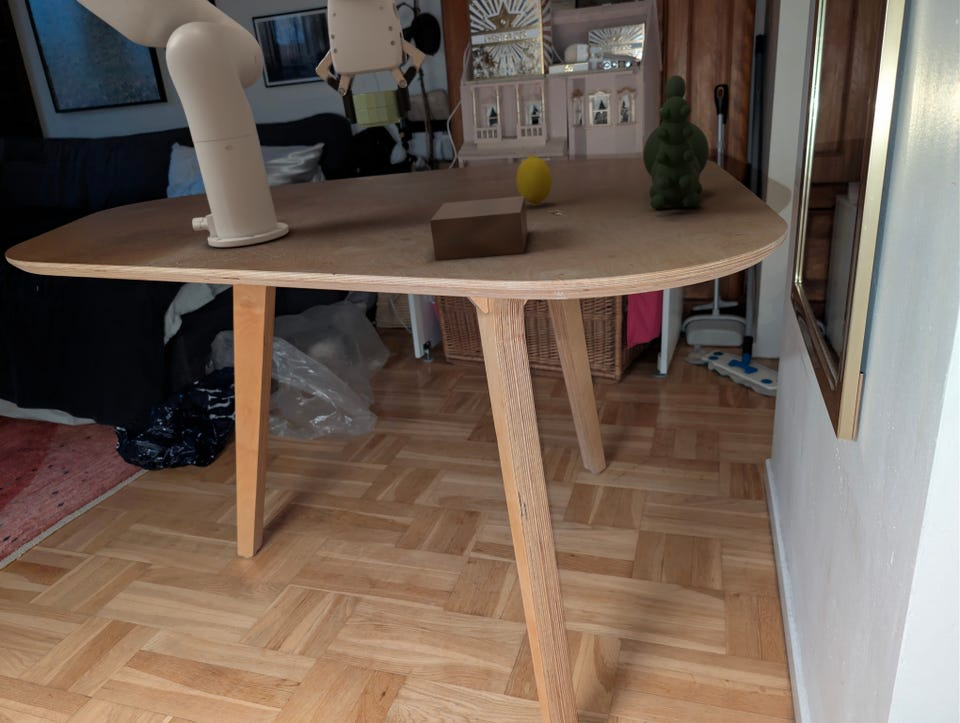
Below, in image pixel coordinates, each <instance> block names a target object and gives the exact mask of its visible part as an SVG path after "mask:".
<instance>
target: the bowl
mask: <svg viewBox="0 0 960 723" xmlns="http://www.w3.org/2000/svg"><path fill="white" fill-rule="evenodd" d="M397 89H398V88H395V89H387V90H381V91H373V92H366V93H358V94H354V95H352V101H353V107H354V112H355V118H356V125H359V127H360V128H362V129H364V128H373V127H374V128H375V127H381V126H388V125H394V124H398V123H401V119H403V118H402V117H400V113H399V107H398V100H397V94H396V90H397Z"/></svg>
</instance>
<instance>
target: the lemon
mask: <svg viewBox="0 0 960 723" xmlns="http://www.w3.org/2000/svg"><path fill="white" fill-rule="evenodd" d="M515 181H516V189H517V192H518V194H519V195H520V196H525V202H528V203H530V204H531V205H532V207H538V206H539V205H540V204H541V202H542V201H544V200H546V198H547V197H548V196H549V194H550V192H551V190H552V173H551V169H550V168H549V165H548V164H547V163H546V161H545V160H544V159H542V158H541V157H537V156H536V155H535V154H530V155H529V156H528V157H527V158H525V159H524V160H522V161H521V163H520V164H519V166H518V168H517V172H516V180H515Z"/></svg>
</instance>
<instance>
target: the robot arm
mask: <svg viewBox="0 0 960 723" xmlns="http://www.w3.org/2000/svg"><path fill="white" fill-rule="evenodd" d="M76 1H77V3H79V4H81V5H82V6H83V7H84V8H86V9H87V10H89V12H91V13H92V14H94V15H95V16H96V17H98V18H99V19H101V20H102V21H103V22H104V23H107V24H108V25H109V26H111V27H112V28H113V29H115V30H116V31H117V32H119V34H121V35H123V36H124V37H125V38H127V39H128V40H129V41H131V42H133V43H135V44H137V45H140V46H144V47H149V48H165V61H166V66H167V70H168V74H169V77H170V78H171V81H172V83H173V86H174V88H175V90H176V92H177V95H178V97H179V100H180V102H181V106H182V108H183V111H184V114H185V117H186V120H187V125H188V128H189V132H190V136H191V139H192V140H191V141H192V143H193V145H194V150H195V155H196V159H197V162H198V166H199V170H200V174H201V178H202V182H203V186H204V189H205V194H206V198H207V202H208V205H209V209H210V214H207V215H205V216H201V217H193V218H192V221H191V224H192V229H193V231H194V232H199V231H200V232H201V231H205V230H206V231H208V232H209V235H208V237H207V239H206V240H207V243H208V245H209V246H210V247H212V248H213V247H214V248H236V247H243V246H250V245H251V246H252V245H256V244H260V243H265V242H268V241H269V242H270V241H273V240H275V239H278V238H281V237H283V236H285V235H287V234H288V233H289V231H290V229H289V225H288V224H287V223H285V222H278V220H277V216H276V215H277V214H276V212H275V211H276V210H275V205H274V202H273V197H272V193H271V188H270V184H269V179H268V175H267V170H266V166H265V161H264V156H263V151H262V147H261V144H260V138H259V134H258V130H257V126H256V121H255V118H254V114H253V111H252V107H251V105H250V103H249V102H250V101H249V99H248V98H247V95H246V93H245V91H244V90H246V89H248V88H250V87H252V86H253V85H255V84H256V83H257V82H258V81H259V79H260V78H261V76H262V74H263V72H264V66H265V62H264V61H265V60H264V55H263V54H264V53H263V50H262V48H261V46H260V44H259V43H258V42H259V41H258V40H256V38H255V37H254V36H253V35H252V34H251V32H250V31H248V30H247V29H246V28H245V27H244V26H242V25H241V24H240V23H238V22H237V21H236V20H234V19H232V18H231V17H230V16H229V15H227V14H226V13H225V12H223V11H222V10H221V9H219V8H218V7H217V6H215V5H214V4H213V3H211V2H210V1H208V0H76ZM398 11H399V10H398V8H397V4H396V1H395V0H327V26H328V37H329V50H328V51H327V53H326V55H325V56H324V57H323V59H322V60H321V61H320V62H319V64H318V66H316V68H315V73H316V74H317V75H318V76H319V77H320V78H321V79H322V80H323V81H324V82H326V84H327V85H328V86H329V87H330V88H332V89H333V90H334V91H335V92H337V93H338V95H339V96H341V99H342V104H343V109H344V115H345V118H346V119H347V120H348V121H349V124H350V125H355V124H356V125H357V123H356V118H355V112H354V107H353V101H352V95H355V94H354V93H353V90H352V89H353V86H354V82H355V79H356V75H365V74H371V73H380V72H386V71H389V73H390V74H391V76H392V78H394V81H395V82H396V84H397V85H396V86H397V88H396V89H397V90H396V89H395V90H396V94H397V100H398V107H399V113H400V117H402V119H404V118H405V119H406V118H408V117H409V112H411V111H412V103H411V97H410V92H409V91H410V90H409V87H410V85H411V83H412V82H413V80H414V79H415V78H416V76H417V75H418V73H419V71H420V69H421V67H422V66H423V64H424V62H425V61H426V58H427V56H426V54H425V53H424V52H422V51H421V50H420V49H418V48H417V47H415V46H414V45H413V44H411V43H410V42H409V41H407V40H405V39H404V34H403V29H402V24H401V20H400V16H399V12H398ZM407 55H408V56H410V57H411V59H412V62H411V64H410V65H409V67H408V68H407V70H406V71H404V70H403V67H405V66H406V65H407V62H408V56H407ZM332 66H333V68H334V71H335V73H337V75H341V77H340V79H338V78H337V77H336V76H334V75H333V74H332V72H331V71H330V70H331V67H332Z"/></svg>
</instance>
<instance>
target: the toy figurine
mask: <svg viewBox="0 0 960 723" xmlns="http://www.w3.org/2000/svg"><path fill="white" fill-rule="evenodd" d="M686 90H687V86H686V82H685V79H684V78H683V77H682V76H680V75H678V74H677V75H672V76H670V77H669V78H668V80H667V81H666V83H665V86H664V94H665V97H666V99H667V100H666V101H665V102H664V103H663V105H662V107H661V109H660V111H659V117H660V118H661V119H662V122H661V124H660V125H659V126H657V127H656V128H655V129H654V130H653V131H652V132H651V133H650V134H649V136H648V137H647V139H646V141H645V143H644V147H643V164H644V167H645V169H646V171H647V174H649V176H650V177H651V181H652V185H651V186H650V187H649V191H648V194H649V196H650V202H649V204H650V207H651V208H652V209H654V210H661V209H664V208H667V206H669V207H675V208H676V207H682V206H684V207H686V208H696V207H698V206H700V204H701V202H702V198H701V194H702V192H703V186H702V184H701V182H700V176H701V173H702V172H703V171H704V169H705V167H706V165H707V164H708V159H709V154H710V153H709V152H710V148H709V147H710V146H709V140H708V139H707V136H706V135H705V133H704V131H703V130H702V129H701V128H700V127H699V126H698V125H697V124H694V123H693V122H692V121H690V120H689V119H688V118H689V117H690V115H691V114H692V109H691V108H692V107H690V105H689V103H688V101H687V100H686V99H685V98H684V97H685V94H686Z"/></svg>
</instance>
